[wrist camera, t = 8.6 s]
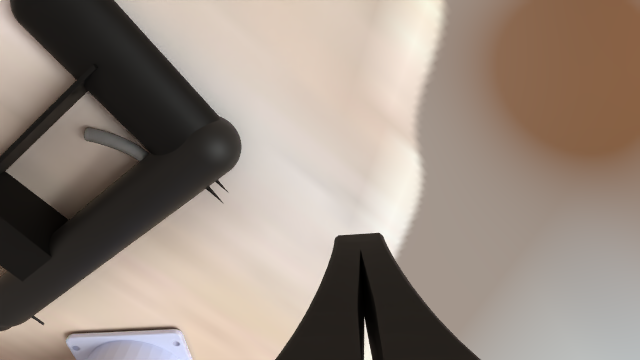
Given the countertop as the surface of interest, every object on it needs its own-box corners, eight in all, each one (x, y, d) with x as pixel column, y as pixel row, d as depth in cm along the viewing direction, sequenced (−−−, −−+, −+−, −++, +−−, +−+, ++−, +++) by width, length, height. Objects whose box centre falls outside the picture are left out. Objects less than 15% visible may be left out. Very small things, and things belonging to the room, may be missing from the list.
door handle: (-272, 161, 20) (16, 355, 25) (-64, -170, 14) (263, 183, 19) (-193, 136, 23) (50, 315, 28) (9, -147, 17) (274, 153, 22)
